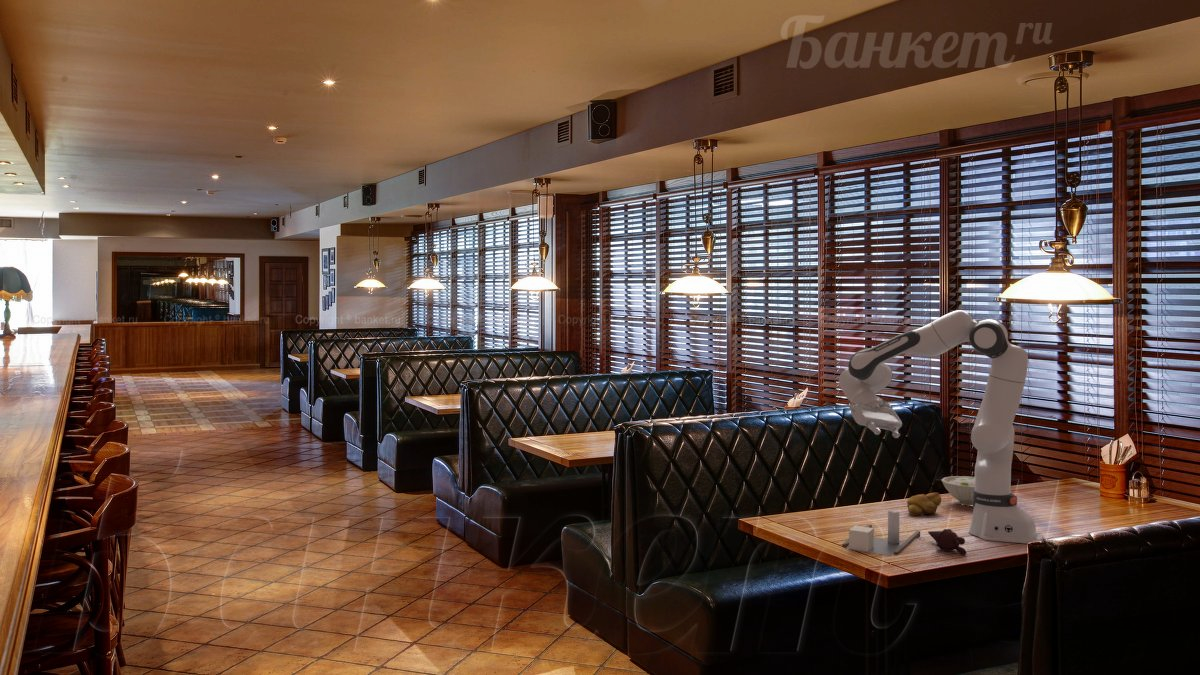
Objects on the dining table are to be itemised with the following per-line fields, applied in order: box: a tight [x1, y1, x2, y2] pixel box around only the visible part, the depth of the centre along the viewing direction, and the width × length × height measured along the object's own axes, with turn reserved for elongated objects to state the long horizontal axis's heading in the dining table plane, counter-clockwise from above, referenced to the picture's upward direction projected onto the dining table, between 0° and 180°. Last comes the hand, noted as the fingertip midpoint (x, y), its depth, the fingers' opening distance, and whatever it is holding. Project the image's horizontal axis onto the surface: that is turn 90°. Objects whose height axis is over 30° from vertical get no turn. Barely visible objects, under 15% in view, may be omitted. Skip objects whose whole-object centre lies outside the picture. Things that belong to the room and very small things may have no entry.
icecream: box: [927, 528, 967, 556], centre depth 284 cm, size 7×7×15 cm
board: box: [845, 510, 905, 557], centre depth 285 cm, size 14×18×11 cm
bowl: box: [941, 475, 975, 505], centre depth 343 cm, size 19×19×10 cm
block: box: [848, 525, 875, 553], centre depth 283 cm, size 6×6×6 cm
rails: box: [841, 523, 921, 556], centre depth 292 cm, size 17×28×2 cm, turn 147°
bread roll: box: [906, 492, 942, 516], centre depth 330 cm, size 13×10×8 cm
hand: (887, 435), depth 306 cm, fingers open, 8 cm apart
